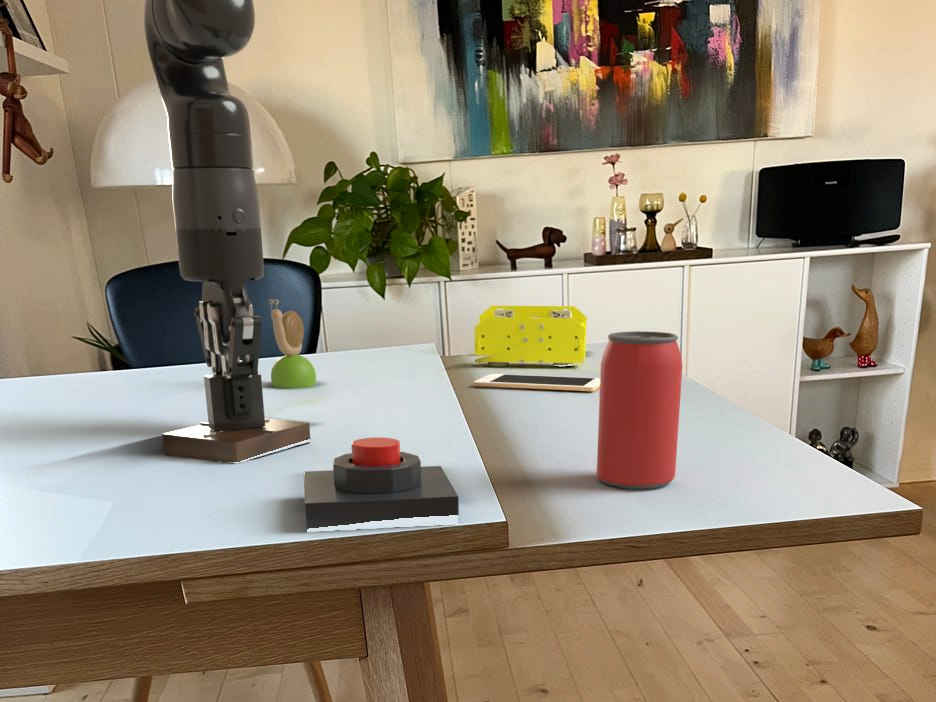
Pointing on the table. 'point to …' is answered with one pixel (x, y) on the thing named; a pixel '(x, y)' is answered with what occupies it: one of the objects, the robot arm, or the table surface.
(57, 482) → the table surface
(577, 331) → the yellow toy chassis
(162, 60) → the robot arm
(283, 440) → the dial panel
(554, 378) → the cell phone
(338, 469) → the button block
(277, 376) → the snail figurine
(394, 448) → the button
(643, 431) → the beer can
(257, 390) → the dark grey rectangular block
